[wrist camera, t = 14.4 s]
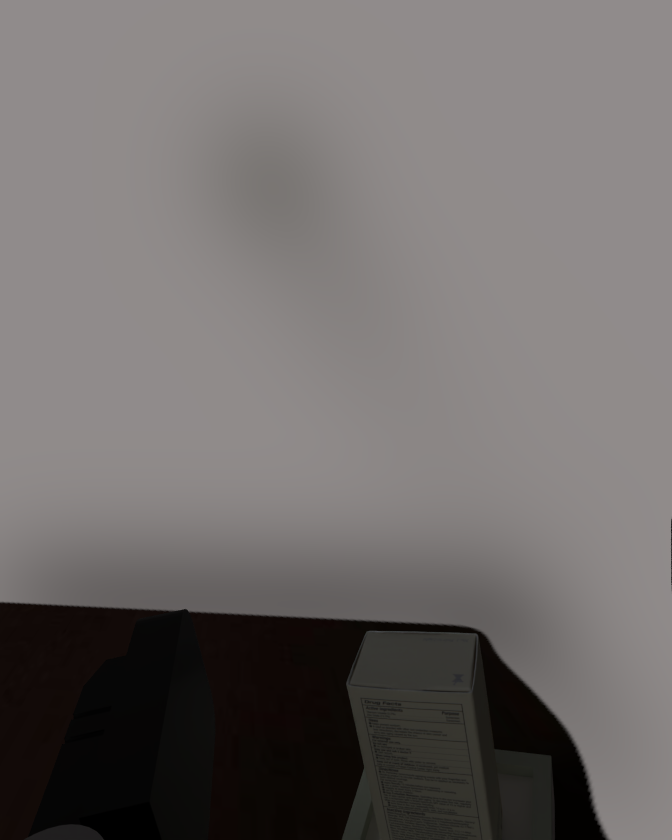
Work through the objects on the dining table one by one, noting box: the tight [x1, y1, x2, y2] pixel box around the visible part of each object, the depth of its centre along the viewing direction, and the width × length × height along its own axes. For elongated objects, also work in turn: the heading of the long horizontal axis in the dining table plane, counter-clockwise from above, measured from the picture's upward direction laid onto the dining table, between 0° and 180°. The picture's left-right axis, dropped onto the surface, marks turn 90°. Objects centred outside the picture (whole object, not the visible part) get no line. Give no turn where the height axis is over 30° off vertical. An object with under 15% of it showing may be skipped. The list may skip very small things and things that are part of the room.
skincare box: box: [346, 631, 503, 840], centre depth 33 cm, size 6×4×12 cm
